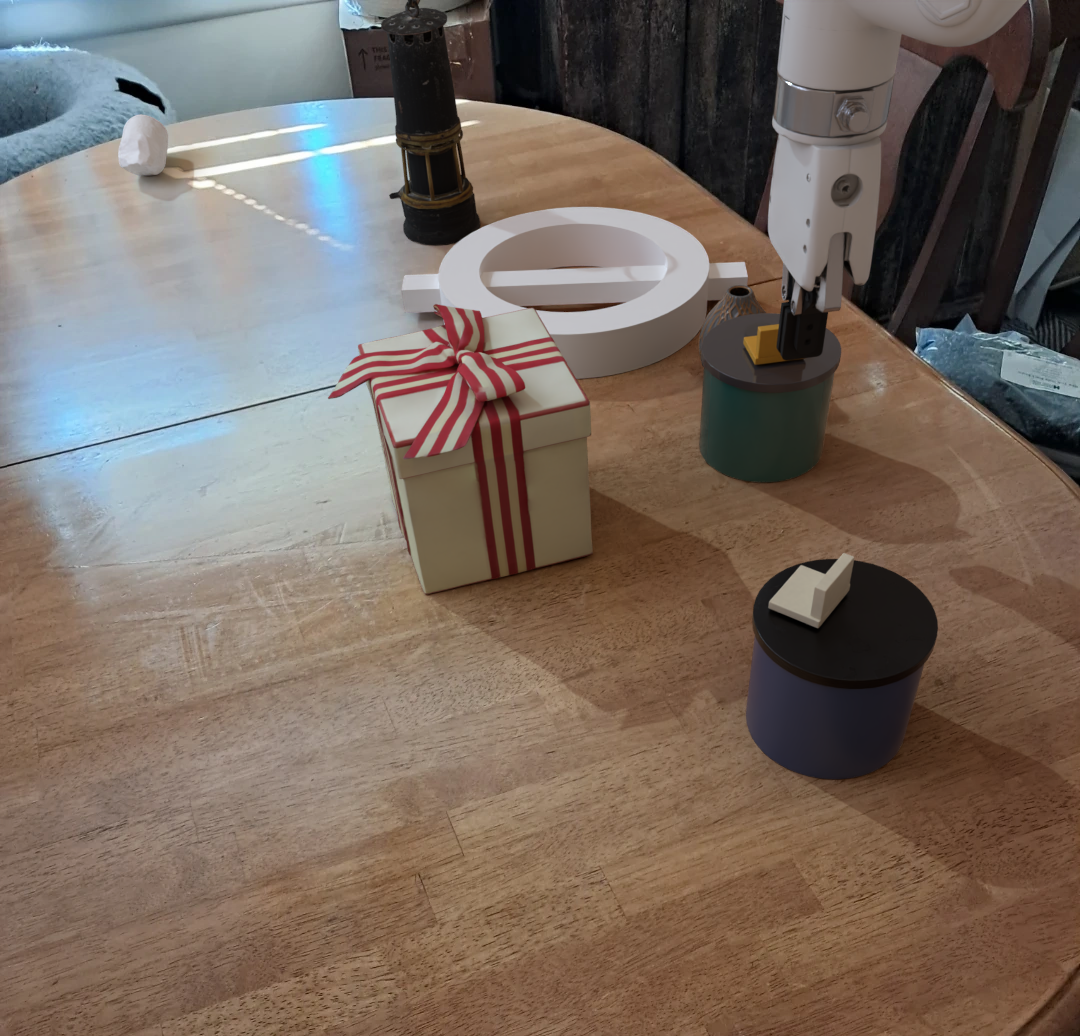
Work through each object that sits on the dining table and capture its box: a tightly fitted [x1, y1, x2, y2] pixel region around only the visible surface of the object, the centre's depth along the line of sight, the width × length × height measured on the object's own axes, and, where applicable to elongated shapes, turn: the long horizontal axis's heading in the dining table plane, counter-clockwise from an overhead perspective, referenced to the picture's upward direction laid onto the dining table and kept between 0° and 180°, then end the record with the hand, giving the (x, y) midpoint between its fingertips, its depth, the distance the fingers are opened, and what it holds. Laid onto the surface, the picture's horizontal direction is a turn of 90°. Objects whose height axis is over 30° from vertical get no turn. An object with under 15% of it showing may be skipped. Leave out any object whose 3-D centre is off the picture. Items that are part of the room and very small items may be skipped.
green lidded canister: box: [698, 312, 842, 483], centre depth 100 cm, size 12×12×10 cm
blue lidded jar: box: [745, 558, 939, 780], centre depth 77 cm, size 12×12×10 cm
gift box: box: [327, 304, 594, 595], centre depth 91 cm, size 17×18×17 cm
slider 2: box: [768, 552, 855, 628], centre depth 74 cm, size 4×4×3 cm
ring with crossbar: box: [401, 206, 749, 380], centre depth 121 cm, size 28×28×5 cm
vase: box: [698, 285, 767, 369], centre depth 109 cm, size 7×7×9 cm
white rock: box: [117, 114, 169, 176], centre depth 151 cm, size 6×12×6 cm, turn 10°
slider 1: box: [743, 324, 805, 365], centre depth 95 cm, size 4×4×3 cm
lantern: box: [380, 0, 481, 246], centre depth 127 cm, size 9×9×30 cm
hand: (798, 352), depth 90 cm, fingers closed
